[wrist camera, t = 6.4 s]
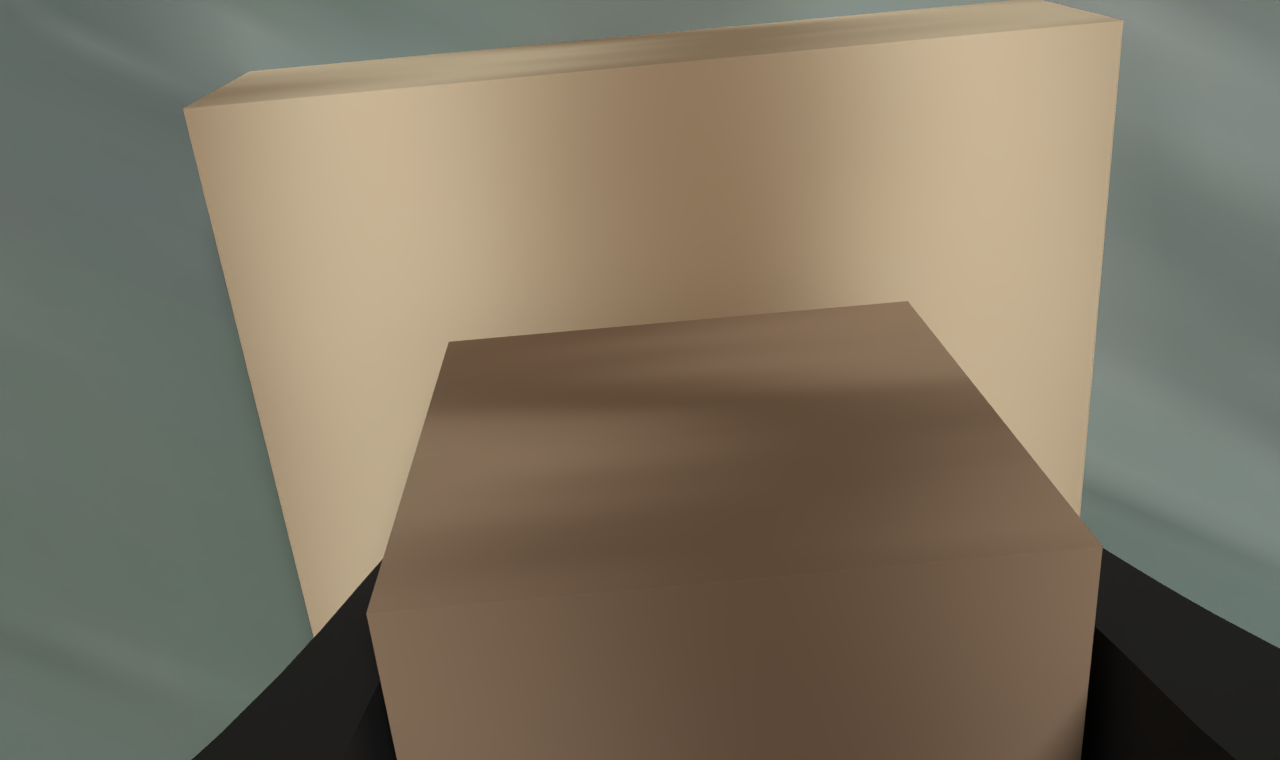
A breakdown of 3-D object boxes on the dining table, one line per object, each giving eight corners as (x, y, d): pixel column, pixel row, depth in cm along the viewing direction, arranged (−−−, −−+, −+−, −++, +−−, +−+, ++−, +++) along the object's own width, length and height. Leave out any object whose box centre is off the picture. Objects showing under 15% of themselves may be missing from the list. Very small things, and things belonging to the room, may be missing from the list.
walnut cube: (505, 710, 14) (468, 1101, 10) (448, 342, 12) (365, 613, 8) (900, 673, 14) (1050, 1045, 10) (908, 301, 12) (1101, 546, 8)
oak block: (391, 682, 19) (359, 820, 16) (258, 66, 15) (182, 108, 12) (989, 623, 19) (1058, 750, 16) (1021, -5, 15) (1123, 20, 12)
